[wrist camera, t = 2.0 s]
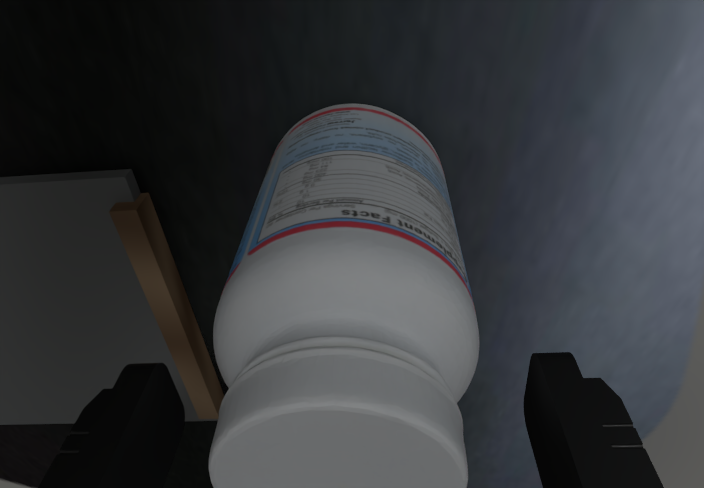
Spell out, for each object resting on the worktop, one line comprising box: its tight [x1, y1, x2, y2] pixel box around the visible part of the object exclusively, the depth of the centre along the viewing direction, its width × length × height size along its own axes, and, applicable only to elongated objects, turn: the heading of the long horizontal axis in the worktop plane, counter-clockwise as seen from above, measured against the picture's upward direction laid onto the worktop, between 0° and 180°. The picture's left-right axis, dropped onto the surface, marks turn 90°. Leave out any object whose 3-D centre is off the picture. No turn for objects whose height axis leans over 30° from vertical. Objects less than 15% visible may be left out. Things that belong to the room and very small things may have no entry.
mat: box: [0, 169, 218, 425], centre depth 23 cm, size 14×15×1 cm
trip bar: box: [109, 193, 224, 419], centre depth 22 cm, size 12×1×1 cm, turn 5°
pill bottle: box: [209, 104, 479, 488], centre depth 13 cm, size 6×6×11 cm
